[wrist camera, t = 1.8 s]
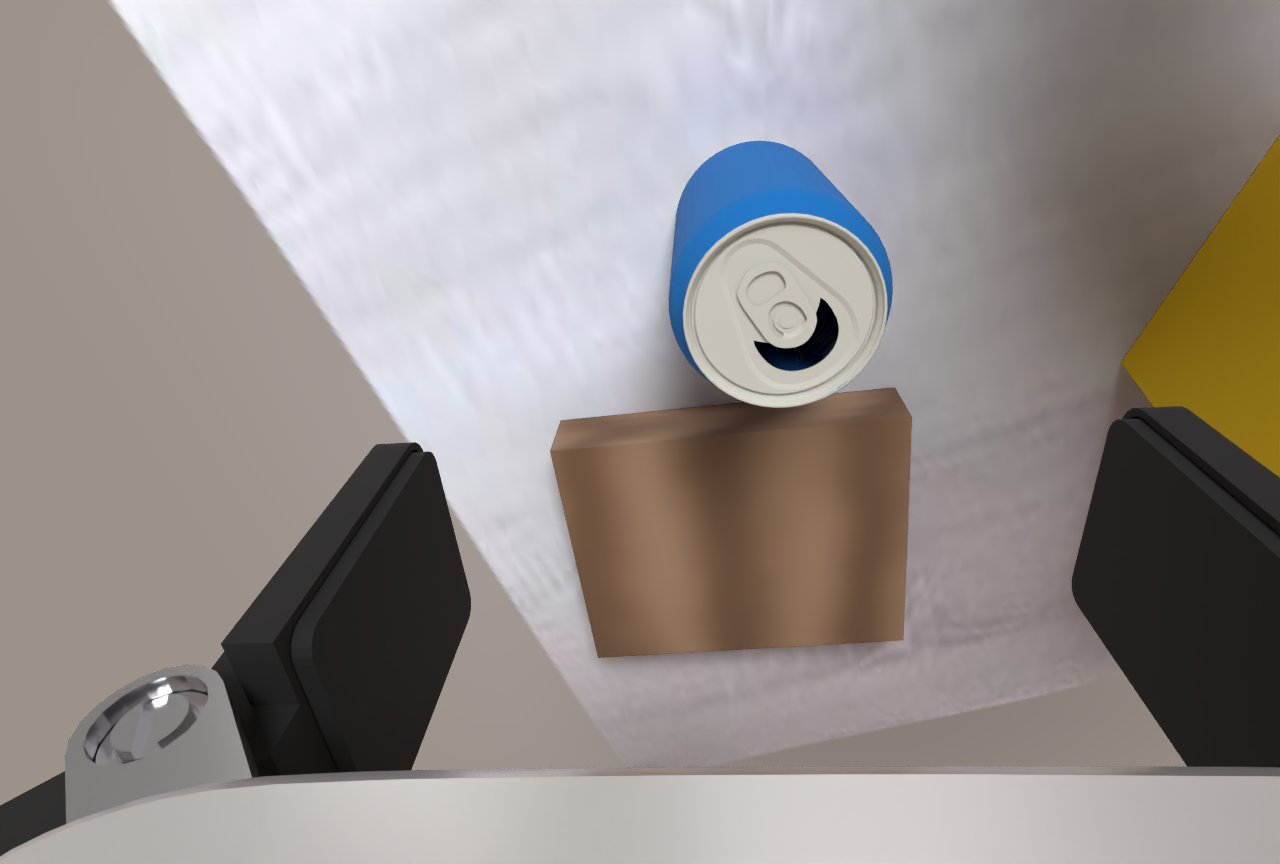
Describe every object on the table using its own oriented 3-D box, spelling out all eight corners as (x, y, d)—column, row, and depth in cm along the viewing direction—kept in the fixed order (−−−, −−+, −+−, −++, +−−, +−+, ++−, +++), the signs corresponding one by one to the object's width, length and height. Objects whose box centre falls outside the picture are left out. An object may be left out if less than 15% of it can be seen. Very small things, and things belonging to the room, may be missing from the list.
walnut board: (894, 387, 34) (911, 417, 31) (889, 600, 40) (903, 640, 37) (560, 420, 36) (550, 451, 33) (604, 618, 42) (598, 657, 39)
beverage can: (730, 321, 33) (748, 457, 22) (645, 203, 31) (620, 292, 20) (859, 237, 31) (946, 343, 20) (778, 102, 28) (827, 143, 18)
